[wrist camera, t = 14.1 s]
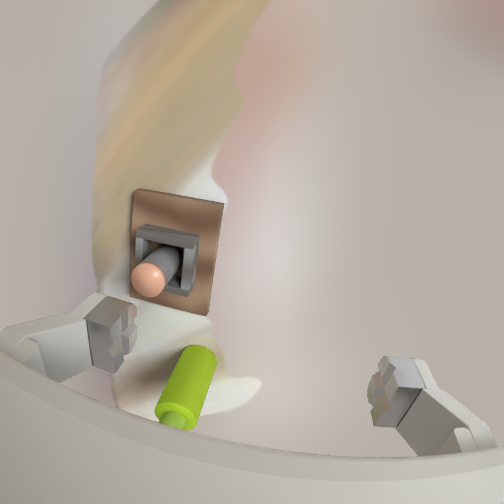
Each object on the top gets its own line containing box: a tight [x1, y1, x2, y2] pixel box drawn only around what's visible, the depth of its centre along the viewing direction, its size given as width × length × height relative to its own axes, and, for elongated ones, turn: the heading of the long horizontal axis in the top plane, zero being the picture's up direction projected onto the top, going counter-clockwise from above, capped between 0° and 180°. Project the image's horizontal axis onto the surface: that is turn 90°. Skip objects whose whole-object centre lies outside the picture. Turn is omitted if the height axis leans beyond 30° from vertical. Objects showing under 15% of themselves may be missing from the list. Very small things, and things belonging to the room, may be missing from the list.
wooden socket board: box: [130, 189, 224, 316], centre depth 41 cm, size 16×12×4 cm
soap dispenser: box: [155, 345, 217, 430], centre depth 40 cm, size 6×7×20 cm
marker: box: [131, 243, 184, 297], centre depth 38 cm, size 4×4×8 cm
